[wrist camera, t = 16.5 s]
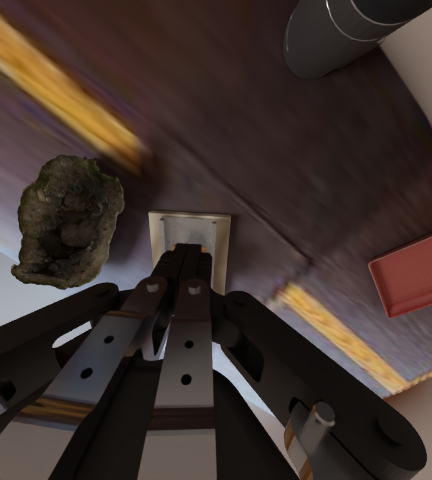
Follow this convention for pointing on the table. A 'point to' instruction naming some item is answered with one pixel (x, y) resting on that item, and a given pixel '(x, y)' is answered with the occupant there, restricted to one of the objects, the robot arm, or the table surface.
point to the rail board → (220, 244)
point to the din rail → (188, 234)
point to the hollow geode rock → (67, 223)
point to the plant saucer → (404, 277)
